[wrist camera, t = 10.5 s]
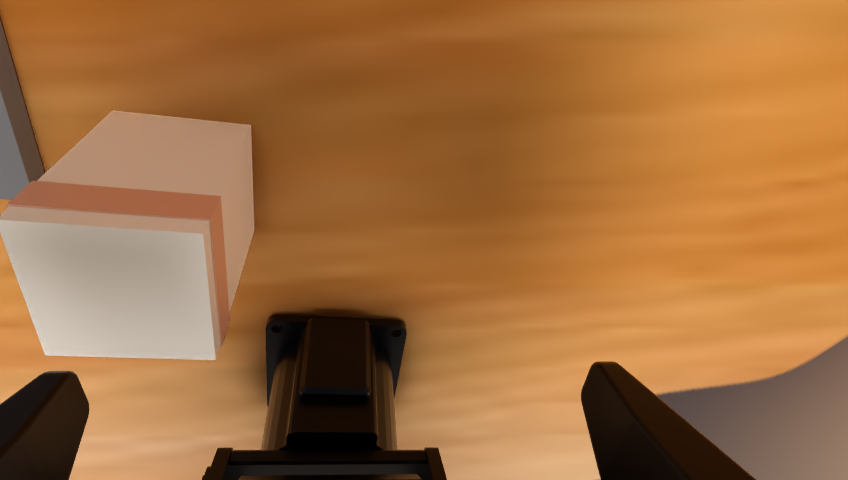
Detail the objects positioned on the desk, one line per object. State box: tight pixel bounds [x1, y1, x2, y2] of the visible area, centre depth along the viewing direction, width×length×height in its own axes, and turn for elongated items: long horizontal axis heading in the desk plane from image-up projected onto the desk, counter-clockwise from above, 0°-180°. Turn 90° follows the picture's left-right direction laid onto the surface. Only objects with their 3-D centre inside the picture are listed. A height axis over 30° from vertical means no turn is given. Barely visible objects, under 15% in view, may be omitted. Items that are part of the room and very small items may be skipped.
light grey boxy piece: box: [0, 110, 254, 360], centre depth 16 cm, size 5×5×7 cm
